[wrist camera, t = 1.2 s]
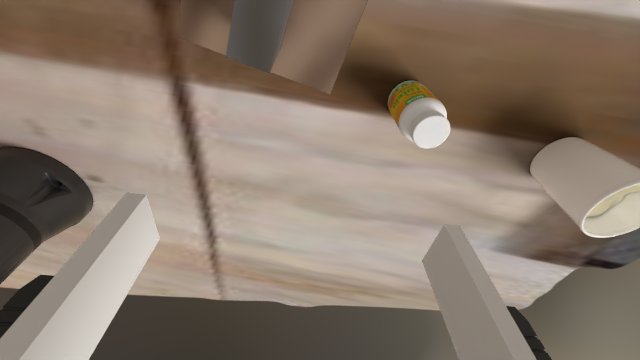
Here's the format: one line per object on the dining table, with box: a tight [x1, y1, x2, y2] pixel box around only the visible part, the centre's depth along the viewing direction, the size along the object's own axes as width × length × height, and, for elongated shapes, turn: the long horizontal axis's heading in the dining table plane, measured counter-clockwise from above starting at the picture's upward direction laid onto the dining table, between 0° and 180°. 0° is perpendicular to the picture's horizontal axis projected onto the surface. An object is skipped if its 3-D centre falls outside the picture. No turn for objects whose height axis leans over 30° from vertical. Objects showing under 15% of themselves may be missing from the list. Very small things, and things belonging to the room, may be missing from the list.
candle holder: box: [530, 137, 640, 238], centre depth 38 cm, size 10×10×12 cm
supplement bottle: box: [388, 81, 450, 148], centre depth 33 cm, size 5×5×10 cm
